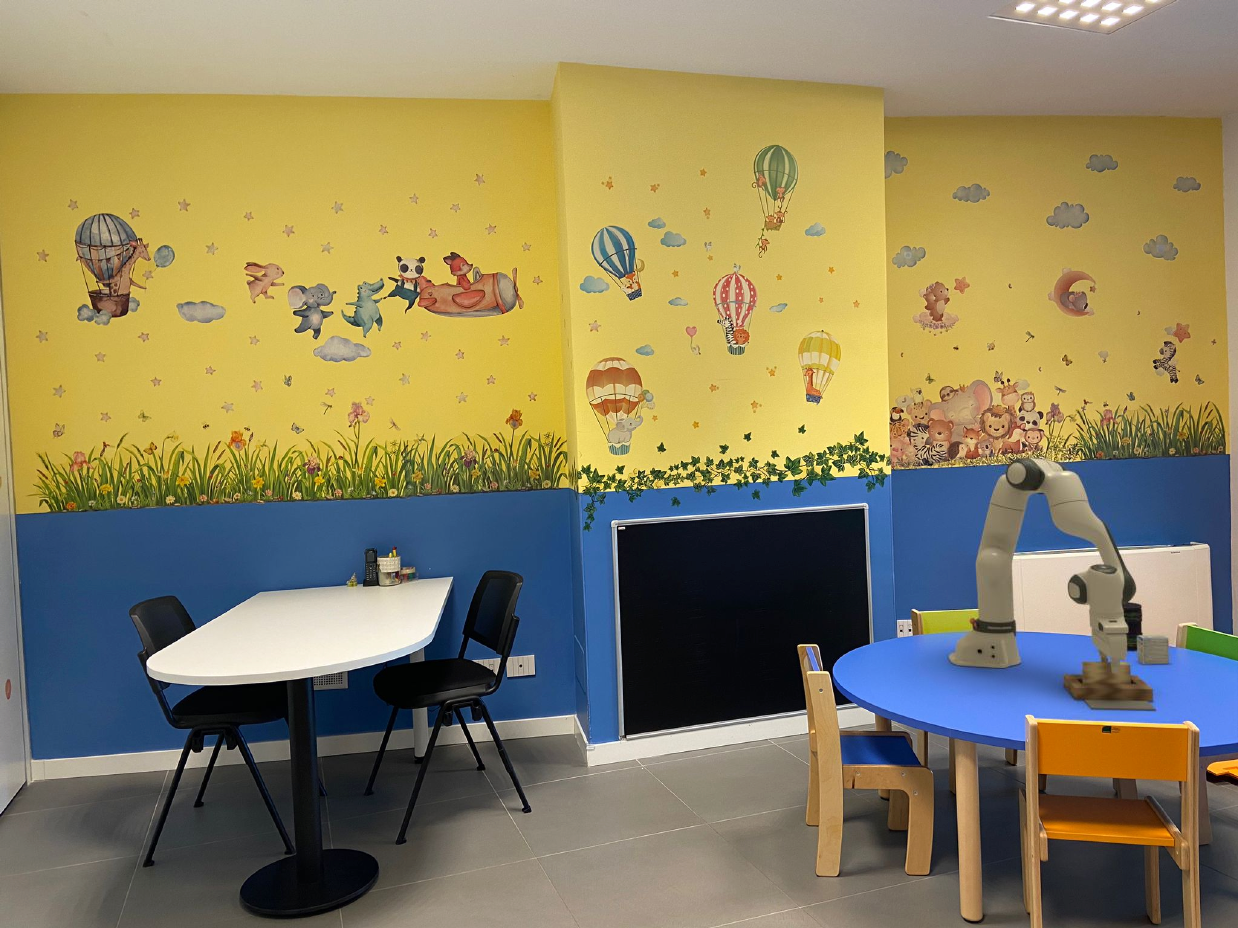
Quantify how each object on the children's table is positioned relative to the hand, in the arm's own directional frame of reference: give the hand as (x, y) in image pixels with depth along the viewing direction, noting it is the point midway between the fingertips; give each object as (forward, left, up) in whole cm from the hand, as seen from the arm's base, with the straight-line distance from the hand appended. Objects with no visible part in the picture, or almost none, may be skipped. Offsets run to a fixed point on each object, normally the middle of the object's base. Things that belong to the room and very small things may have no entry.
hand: (1109, 668), depth 258 cm
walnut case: (-1, 0, -7) cm, 7 cm away
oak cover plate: (-1, 0, -8) cm, 8 cm away
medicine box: (+22, +35, -8) cm, 42 cm away
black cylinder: (+20, +55, -8) cm, 59 cm away
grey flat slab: (-1, -12, -7) cm, 14 cm away
